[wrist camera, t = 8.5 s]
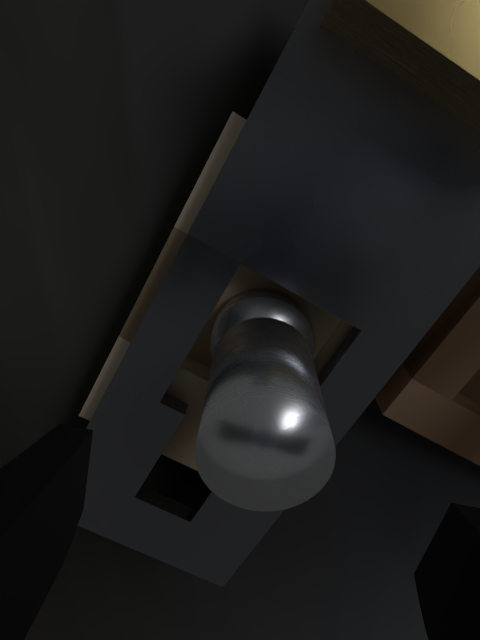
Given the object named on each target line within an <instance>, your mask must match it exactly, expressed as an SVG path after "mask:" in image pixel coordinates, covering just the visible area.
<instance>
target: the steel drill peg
mask: <svg viewBox="0 0 480 640" xmlns="http://www.w3.org/2000/svg"><path fill="white" fill-rule="evenodd" d="M210 347H211V354H212V358H213V359H212V364H211V370H210V375H209V380H208V385H207V390H206V395H205V400H204V405H203V411H202V416H201V421H200V426H199V431H198V436H197V441H196V447H195V461H196V466H197V469H198V472H199V474H200V476H201V478H202V480H203V481H204V483H205V484H206V486H207V487H208V488H209V489H210V490H211V491H212V492H213V493H214V494H216V495H217V496H218V497H220V498H221V499H222V500H224V501H226V502H228V503H230V504H232V505H234V506H237V507H240V508H243V509H247V510H253V511H264V512H265V511H278V510H284V509H288V508H291V507H294V506H297V505H299V504H301V503H303V502H306V501H307V500H309V499H310V498H312V497H313V496H314V495H316V494H317V493H318V492H319V491H320V490H321V489H322V488H323V487H324V486H325V484H326V483H327V481H328V480H329V478H330V476H331V474H332V472H333V469H334V465H335V459H336V450H335V444H334V440H333V436H332V432H331V428H330V424H329V420H328V416H327V412H326V408H325V404H324V400H323V397H322V393H321V389H320V385H319V381H318V377H317V373H316V369H315V365H314V361H313V357H312V354H313V348H314V339H313V333H312V330H311V326H310V323H309V320H308V317H307V315H306V313H305V311H304V309H303V308H302V306H301V305H300V304H299V303H298V302H297V301H296V300H295V299H293V298H292V297H291V296H289V295H287V294H285V293H283V292H281V291H278V290H275V289H270V288H254V289H249V290H246V291H243V292H240V293H238V294H236V295H235V296H233V297H232V298H230V299H229V300H228V301H227V302H226V303H225V304H224V305H223V306H222V307H221V309H220V310H219V312H218V314H217V316H216V318H215V321H214V325H213V330H212V334H211V340H210Z"/></svg>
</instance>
